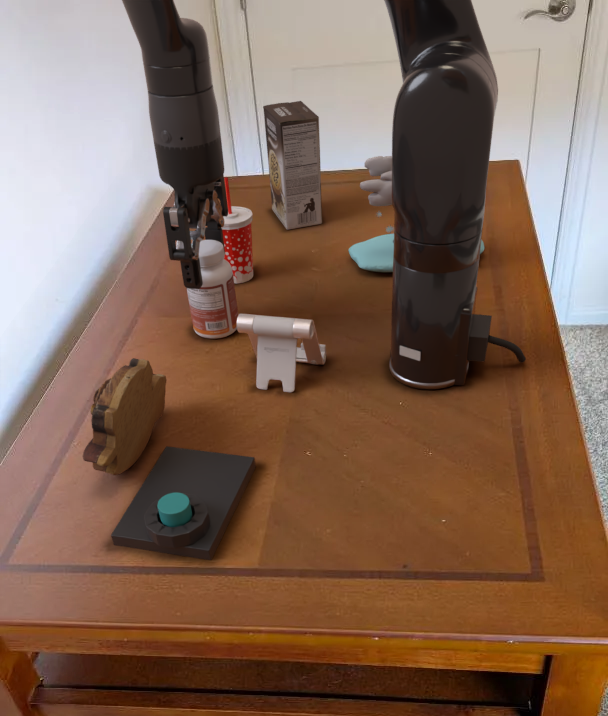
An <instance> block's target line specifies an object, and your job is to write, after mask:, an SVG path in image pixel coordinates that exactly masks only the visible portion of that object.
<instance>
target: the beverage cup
mask: <svg viewBox="0 0 608 716" xmlns="http://www.w3.org/2000/svg"><path fill="white" fill-rule="evenodd" d="M224 182H225V190H226V197H227V205H228V216H227V217H226V216H223V218H224V226H223V227H221V228H222V231H223V239H224V248H225V256H224V259H225V260H226V261H228V262H229V264H230V265H231V267H232V272H233V278H234V284H244V283H246V282H249V281H250V280H252V279H253V277H254V256H253V234H252V233H253V231H252V229H253V228H252V222H253V217H254V215H253V212H252V210H251V209H250V208H248V207H244V206H235V205H234V206H233V205H232V202H231V193H230V184H229V177H228V176H224Z"/></svg>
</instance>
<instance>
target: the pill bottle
mask: <svg viewBox="0 0 608 716" xmlns="http://www.w3.org/2000/svg"><path fill="white" fill-rule="evenodd" d="M191 246H192V243H191ZM224 256H225V253H224V247H223V244H222V243H221V242H219V241H216V240H205V239H203V240H202V241H200V247H199V257H198V258H199V260H200V267H201V274H202V281H203V285H202V286H201V288H200V289H190V288H186V287H185V290H186V295H187V299H188V305H189V306H188V307H189V312H190V317H191V323H192V327H193V331H194V332H195V334H197V335H198V336H199V337H202V338H204V339H212V340H213V339H222V338H227V337H228V336H230V335H232V334H233V333H235V332H236V331H238V330H237V318H238V315H239V310H238V301H237V294H236V288H235V283H234V278H233V272H232V267H231V265H230V264H229V262H228V261H226V260H225V259H224Z"/></svg>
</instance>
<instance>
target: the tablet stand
mask: <svg viewBox="0 0 608 716" xmlns="http://www.w3.org/2000/svg"><path fill="white" fill-rule="evenodd" d="M236 331H237V332H238V333H239V334H247V336H248V338H249V341H250V344H251V347H252V350H253V352H254V355H255V357H256V381H255V382H256V383H255V386H256V388H257V389H259V390H265V391H268V389H269V388H268V387H269V383H270V380H274V381H280V382H281V383H282V391H283V392H284V393H293V392H295V390H296V375H297V374H296V372H297V363H304V364H311V365H317V366H318V365H325V364H326V362H327V361H326V360H327V345H326V344H321V343H320V341H319V338H318V334H317V330H316V325H315V321H314V320H313V319H309V318H308V319H307V318H295V317H285V316H272V315H263V314H262V315H261V314H249V313H238V318H237V330H236ZM298 339H301V343H300V346H299V347H298Z"/></svg>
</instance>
